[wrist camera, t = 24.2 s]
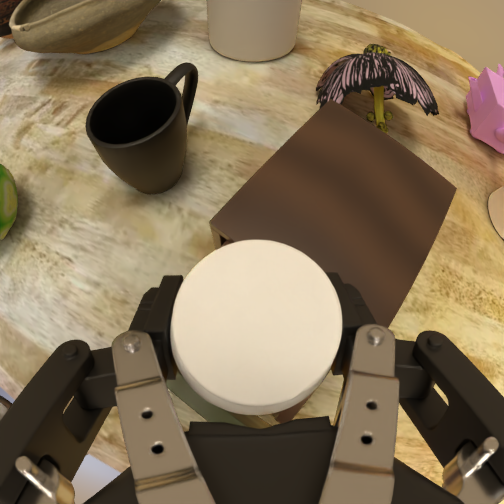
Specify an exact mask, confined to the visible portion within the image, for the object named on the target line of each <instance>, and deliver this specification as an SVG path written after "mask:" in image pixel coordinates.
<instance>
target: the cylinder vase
mask: <svg viewBox="0 0 504 504" xmlns="http://www.w3.org/2000/svg"><path fill="white" fill-rule="evenodd" d="M206 1H207V15H208V30H209V41H210V44H211V46H212V47H213V48H214V49H215V50H216V51H217V52H218V53H220V54H221V55H223V56H226V57H228V58H231V59H235V60H240V61H250V62H259V61H268V60H273V59H277V58H280V57H282V56H284V55H286V54H287V53H289V52H290V51H291V50H292V49H293V47H294V45H295V42H296V36H297V30H298V23H299V17H300V10H301V4H302V0H206Z"/></svg>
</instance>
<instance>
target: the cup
mask: <svg viewBox="0 0 504 504" xmlns="http://www.w3.org/2000/svg"><path fill="white" fill-rule="evenodd" d="M488 210H489V214H490V218H491V220H492V223H493V225H494V227H495V229H496V231H497V232H498V233H499V235H500V236H501V237H502V238H503V239H504V186H502V187H500V188H499V189H497V190H495V191H494V192H492V193H491V195H490V196H489V200H488Z"/></svg>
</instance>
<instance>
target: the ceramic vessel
mask: <svg viewBox="0 0 504 504" xmlns="http://www.w3.org/2000/svg"><path fill="white" fill-rule="evenodd" d="M22 1H23V0H0V37H2V38H9V39H14V38H13V36H12V30H11V27H10V25H9V22H10V19H11V16H12V14H13V12H14V10H15V9H16V7H17V6H18V5H19V4H20V3H21V2H22Z"/></svg>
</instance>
